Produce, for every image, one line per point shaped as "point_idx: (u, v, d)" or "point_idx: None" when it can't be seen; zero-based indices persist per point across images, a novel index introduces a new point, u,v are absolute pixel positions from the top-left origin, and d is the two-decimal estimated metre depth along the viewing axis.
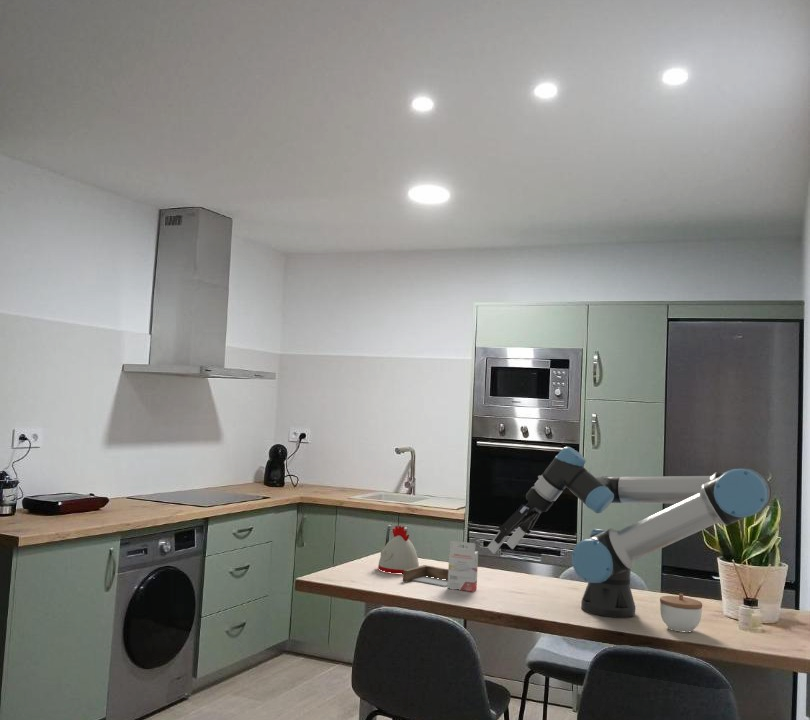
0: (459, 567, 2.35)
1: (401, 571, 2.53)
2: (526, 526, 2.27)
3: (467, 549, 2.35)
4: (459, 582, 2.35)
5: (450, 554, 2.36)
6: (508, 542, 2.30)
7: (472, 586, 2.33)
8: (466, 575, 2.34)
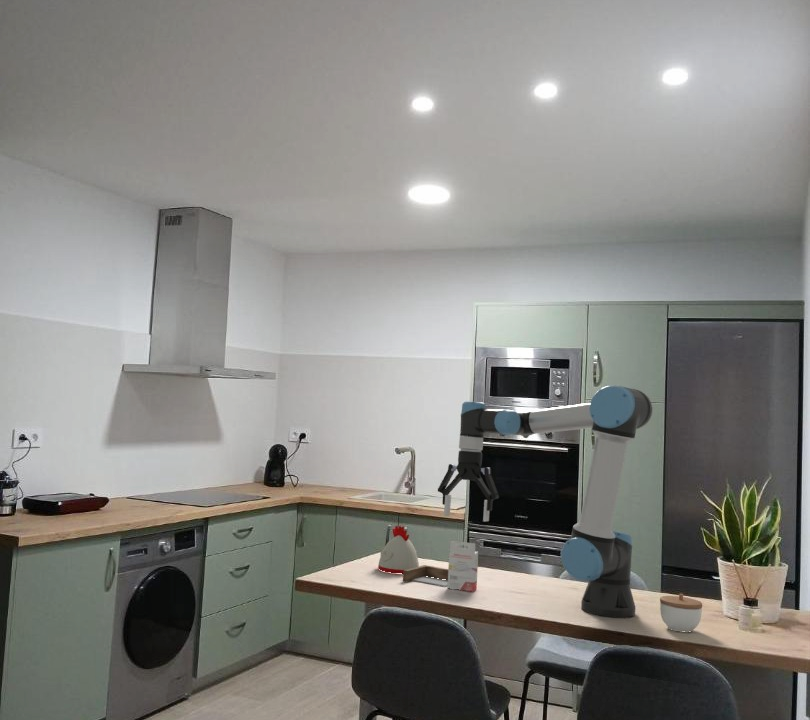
0: (459, 567, 2.35)
1: (401, 571, 2.53)
2: None
3: (467, 549, 2.35)
4: (459, 582, 2.35)
5: (450, 554, 2.36)
6: None
7: (472, 586, 2.33)
8: (466, 575, 2.34)
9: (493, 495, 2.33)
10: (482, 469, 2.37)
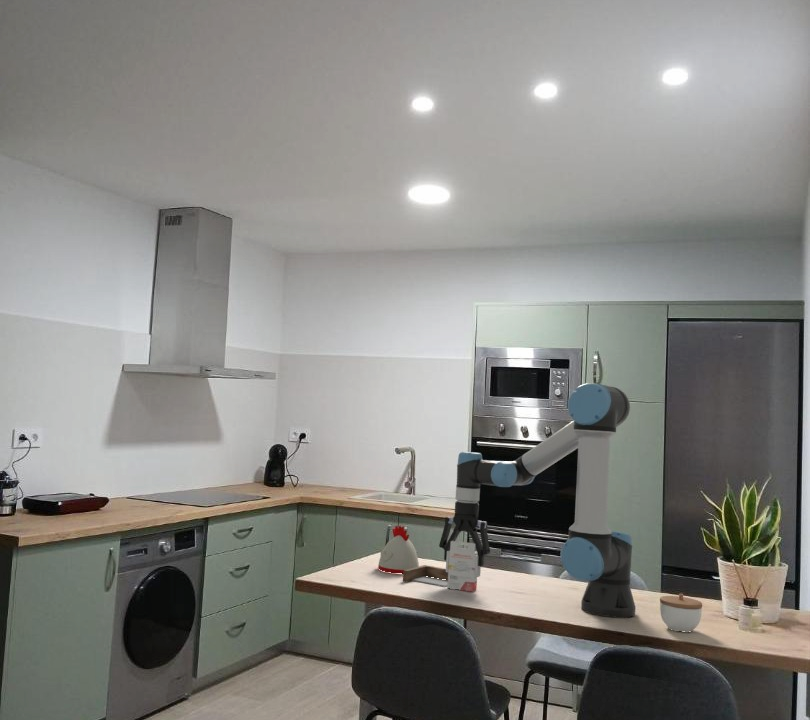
0: (459, 567, 2.35)
1: (401, 571, 2.53)
2: None
3: (467, 549, 2.35)
4: (459, 582, 2.35)
5: (450, 554, 2.36)
6: None
7: (472, 586, 2.33)
8: (466, 575, 2.34)
9: (484, 551, 2.33)
10: (478, 522, 2.36)
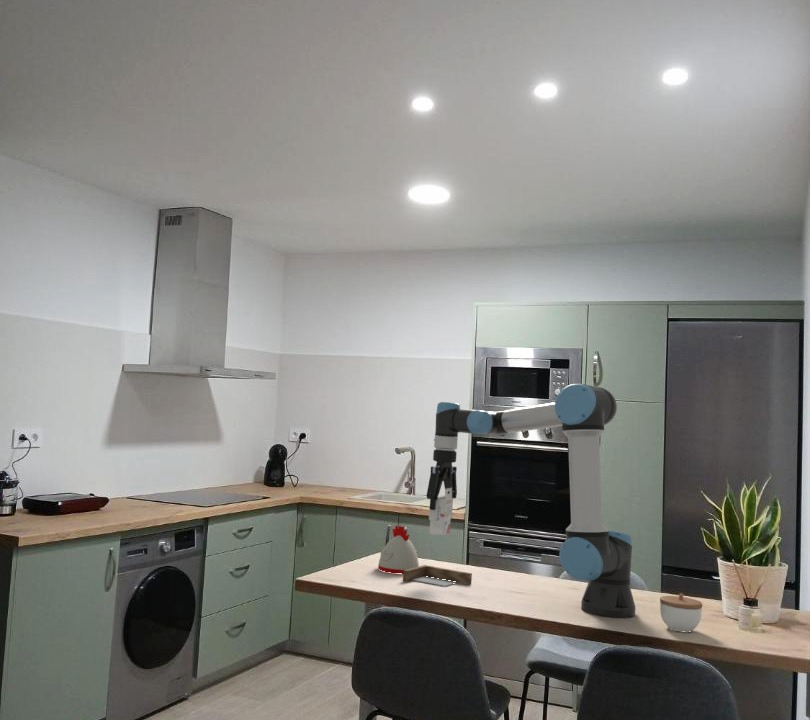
0: (447, 512, 2.45)
1: (401, 571, 2.53)
2: None
3: (449, 494, 2.48)
4: (446, 527, 2.45)
5: (445, 502, 2.42)
6: None
7: (449, 527, 2.49)
8: (449, 518, 2.47)
9: (455, 492, 2.53)
10: (451, 467, 2.51)
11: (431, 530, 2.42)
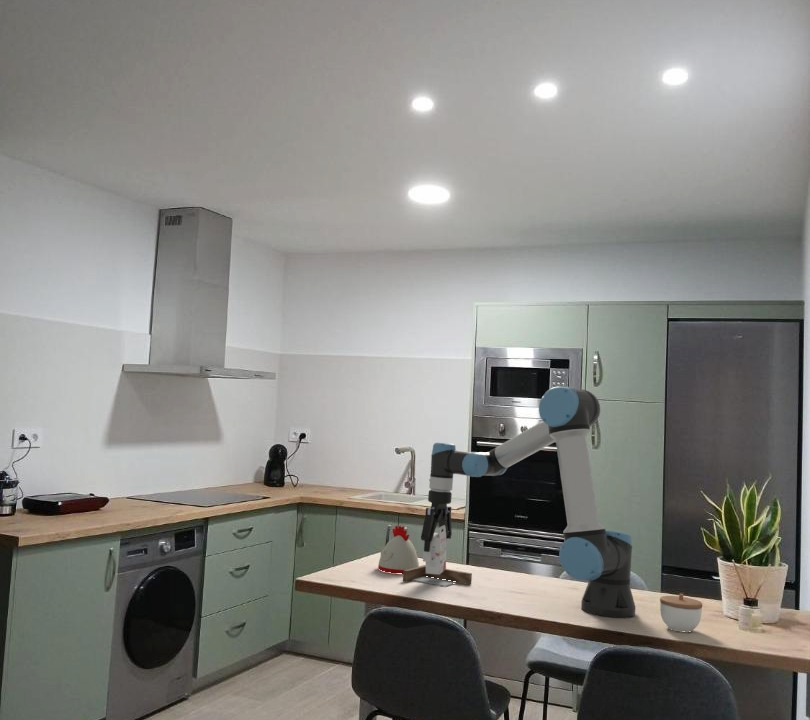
0: (442, 550, 2.44)
1: (401, 571, 2.53)
2: None
3: (443, 532, 2.47)
4: (442, 565, 2.44)
5: (439, 541, 2.41)
6: None
7: (445, 564, 2.48)
8: (444, 555, 2.46)
9: (450, 532, 2.52)
10: None
11: (427, 570, 2.42)
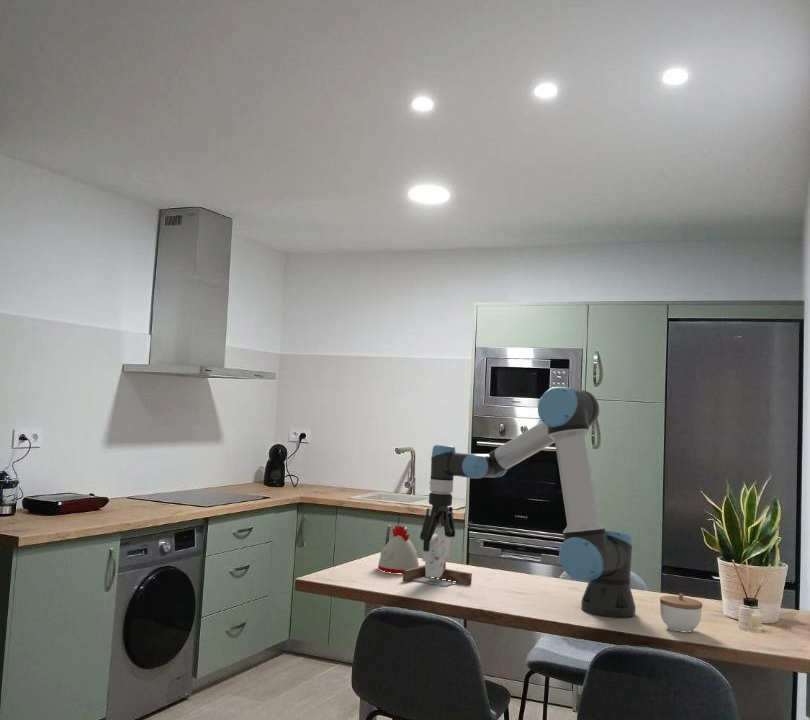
0: (441, 553, 2.43)
1: (401, 571, 2.53)
2: (448, 531, 2.51)
3: (442, 534, 2.45)
4: (442, 567, 2.44)
5: (438, 544, 2.40)
6: None
7: (445, 564, 2.48)
8: (443, 557, 2.46)
9: (454, 531, 2.53)
10: None
11: (427, 573, 2.41)
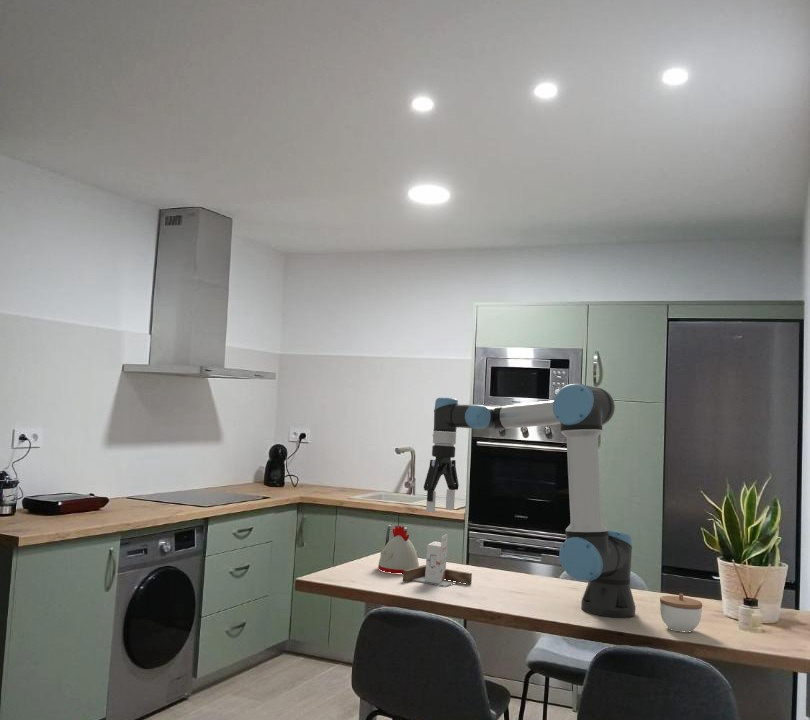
0: (443, 560, 2.44)
1: (401, 571, 2.53)
2: (451, 483, 2.52)
3: (445, 541, 2.46)
4: (442, 574, 2.44)
5: (441, 550, 2.41)
6: (447, 507, 2.53)
7: (444, 574, 2.48)
8: (444, 565, 2.46)
9: (457, 484, 2.55)
10: None
11: (426, 578, 2.41)
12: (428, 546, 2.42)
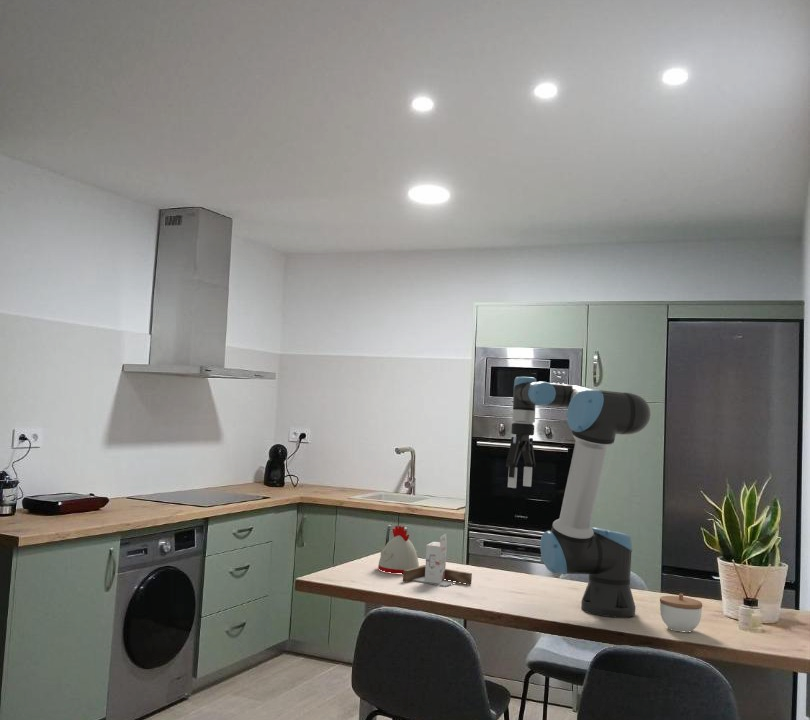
0: (442, 560, 2.44)
1: (401, 571, 2.53)
2: (529, 461, 2.58)
3: (444, 541, 2.47)
4: (442, 574, 2.44)
5: (440, 549, 2.41)
6: (524, 483, 2.59)
7: (444, 574, 2.48)
8: (444, 565, 2.46)
9: (534, 462, 2.61)
10: None
11: (426, 578, 2.41)
12: (427, 546, 2.42)
